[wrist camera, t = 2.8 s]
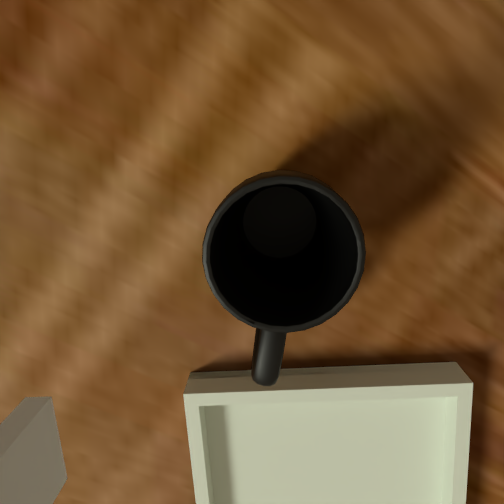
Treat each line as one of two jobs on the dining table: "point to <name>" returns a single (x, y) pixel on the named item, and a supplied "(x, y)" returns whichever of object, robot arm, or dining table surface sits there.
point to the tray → (331, 435)
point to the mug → (282, 259)
